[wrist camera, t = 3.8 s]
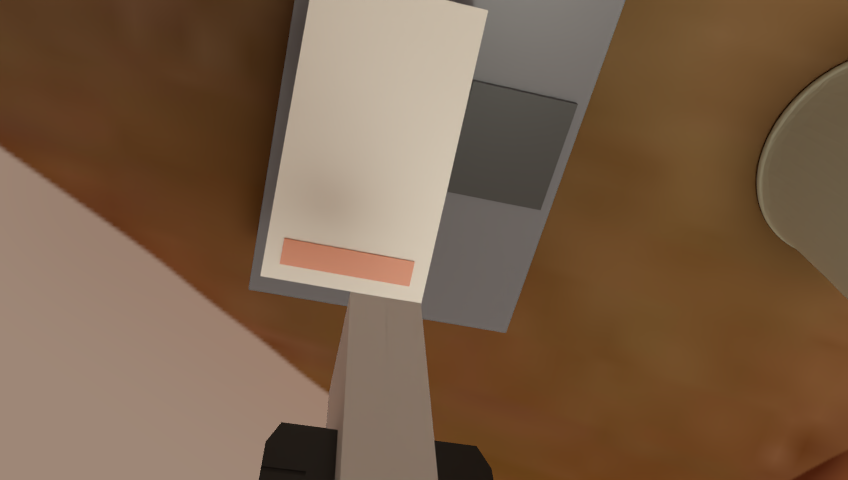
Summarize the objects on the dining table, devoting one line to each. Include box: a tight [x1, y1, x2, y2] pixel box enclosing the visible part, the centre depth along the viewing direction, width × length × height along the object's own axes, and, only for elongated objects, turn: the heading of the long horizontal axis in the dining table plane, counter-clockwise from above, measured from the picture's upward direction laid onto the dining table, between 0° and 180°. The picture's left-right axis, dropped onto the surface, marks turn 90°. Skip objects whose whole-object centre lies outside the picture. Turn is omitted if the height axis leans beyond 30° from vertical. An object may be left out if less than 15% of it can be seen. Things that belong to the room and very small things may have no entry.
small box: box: [260, 0, 488, 303], centre depth 23 cm, size 9×5×2 cm, turn 166°
